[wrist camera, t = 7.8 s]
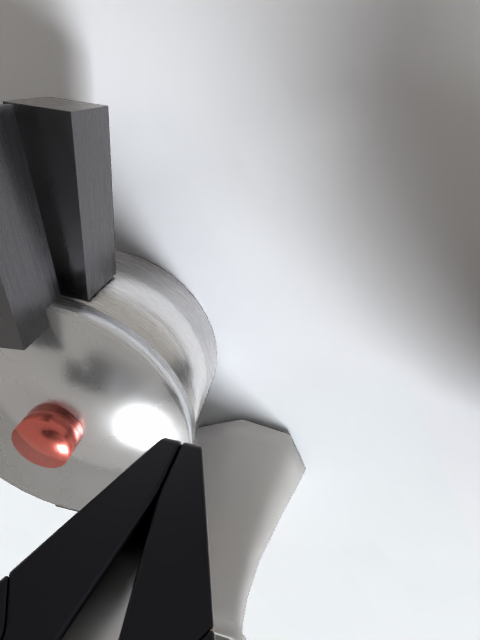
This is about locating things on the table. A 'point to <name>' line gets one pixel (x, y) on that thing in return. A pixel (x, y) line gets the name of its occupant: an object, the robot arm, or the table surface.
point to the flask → (243, 508)
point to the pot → (107, 240)
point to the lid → (68, 365)
